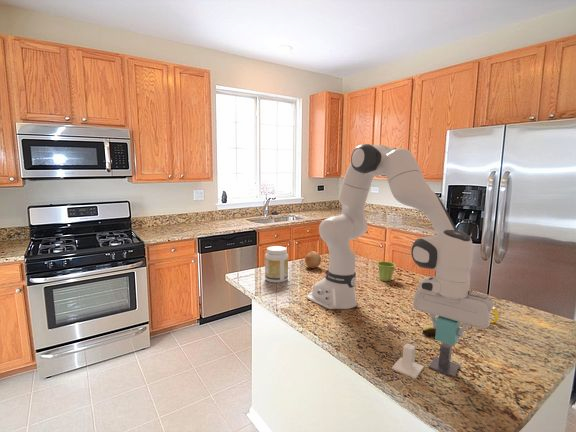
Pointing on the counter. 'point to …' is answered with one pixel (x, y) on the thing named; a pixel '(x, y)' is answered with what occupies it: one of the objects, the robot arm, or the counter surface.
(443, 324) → the teal rectangular block
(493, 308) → the watch
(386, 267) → the plant pot
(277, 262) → the supplement tub
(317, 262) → the brown round ball
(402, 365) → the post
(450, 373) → the post
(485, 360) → the counter surface
